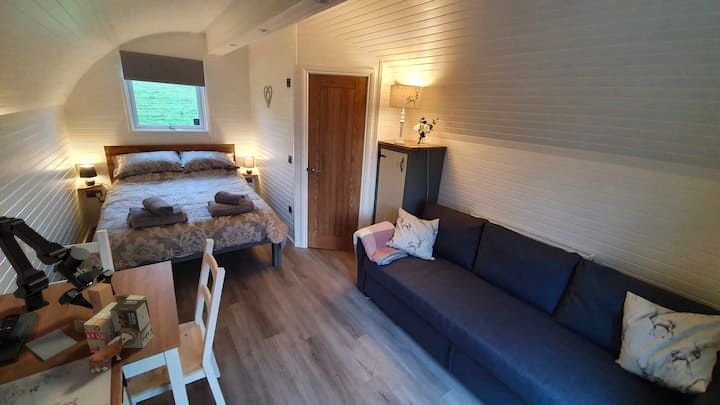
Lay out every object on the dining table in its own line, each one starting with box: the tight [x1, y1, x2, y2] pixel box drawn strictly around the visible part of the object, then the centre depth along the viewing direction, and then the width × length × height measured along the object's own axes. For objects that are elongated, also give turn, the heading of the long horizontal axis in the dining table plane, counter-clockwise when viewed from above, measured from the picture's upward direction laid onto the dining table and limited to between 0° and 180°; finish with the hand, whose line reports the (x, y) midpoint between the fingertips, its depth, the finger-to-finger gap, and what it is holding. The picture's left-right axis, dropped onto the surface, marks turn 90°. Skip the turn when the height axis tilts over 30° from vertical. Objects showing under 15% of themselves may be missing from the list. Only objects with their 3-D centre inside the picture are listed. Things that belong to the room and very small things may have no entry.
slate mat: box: [25, 328, 79, 362], centre depth 109 cm, size 14×9×1 cm, turn 64°
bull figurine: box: [87, 332, 133, 374], centre depth 103 cm, size 4×13×8 cm, turn 161°
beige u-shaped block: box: [73, 293, 131, 334], centre depth 124 cm, size 9×18×4 cm, turn 172°
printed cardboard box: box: [84, 294, 147, 354], centre depth 115 cm, size 21×6×12 cm, turn 179°
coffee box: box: [110, 299, 154, 349], centre depth 111 cm, size 9×6×16 cm
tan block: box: [86, 283, 115, 317], centre depth 123 cm, size 5×5×14 cm
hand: (104, 301), depth 122 cm, fingers open, 9 cm apart
